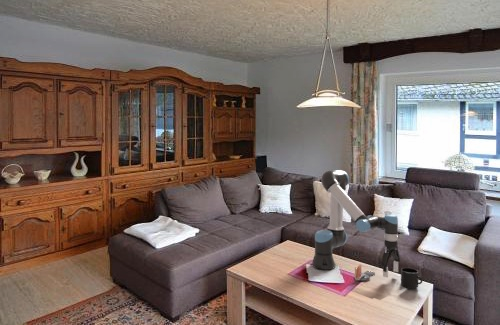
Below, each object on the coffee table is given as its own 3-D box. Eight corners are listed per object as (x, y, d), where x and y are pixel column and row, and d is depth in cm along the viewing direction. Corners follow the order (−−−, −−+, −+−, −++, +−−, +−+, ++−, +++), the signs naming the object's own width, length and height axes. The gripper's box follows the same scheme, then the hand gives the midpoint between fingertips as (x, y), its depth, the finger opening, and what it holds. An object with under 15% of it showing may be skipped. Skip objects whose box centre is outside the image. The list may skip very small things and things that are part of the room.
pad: (353, 272, 228) (353, 271, 228) (363, 269, 235) (363, 268, 235) (368, 277, 220) (368, 276, 220) (378, 273, 227) (378, 272, 227)
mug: (418, 291, 198) (418, 275, 198) (397, 285, 207) (398, 270, 207) (425, 287, 204) (425, 271, 204) (405, 281, 213) (405, 266, 213)
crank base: (349, 279, 217) (349, 266, 216) (360, 275, 224) (360, 262, 224) (362, 283, 210) (362, 270, 209) (372, 279, 217) (372, 266, 217)
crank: (360, 274, 220) (360, 261, 220) (366, 275, 218) (366, 263, 218) (354, 279, 212) (354, 266, 211) (361, 280, 209) (361, 267, 209)
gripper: (387, 244, 204) (386, 280, 205) (406, 237, 221) (405, 270, 221) (375, 242, 210) (374, 277, 210) (394, 235, 226) (394, 268, 227)
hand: (390, 274), depth 216 cm, fingers open, 13 cm apart
